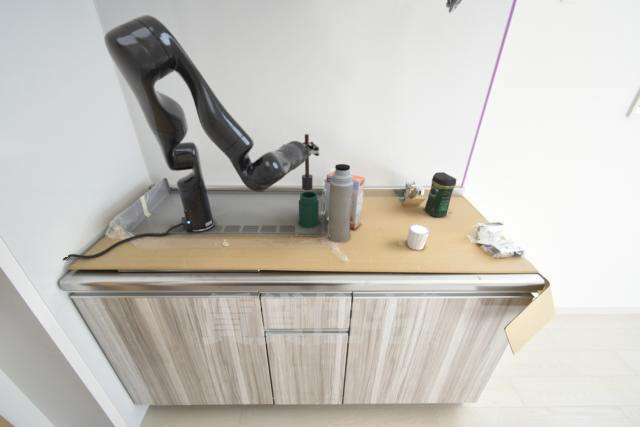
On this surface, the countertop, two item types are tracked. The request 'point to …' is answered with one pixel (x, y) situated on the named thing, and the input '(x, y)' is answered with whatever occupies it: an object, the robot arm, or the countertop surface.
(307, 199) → the green bottle
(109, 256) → the countertop surface
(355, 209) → the cracker box
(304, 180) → the bottle brush
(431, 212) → the coffee jar
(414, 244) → the white ribbed cup
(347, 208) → the thermos bottle
